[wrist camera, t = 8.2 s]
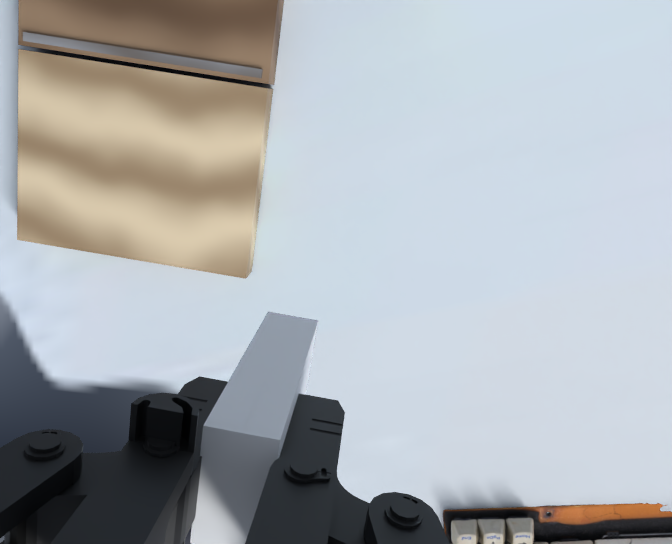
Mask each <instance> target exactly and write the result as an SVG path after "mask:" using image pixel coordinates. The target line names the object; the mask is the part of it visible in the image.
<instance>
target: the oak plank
mask: <svg viewBox="0 0 672 544" xmlns="http://www.w3.org/2000/svg"><path fill="white" fill-rule="evenodd" d="M272 94H273V89H269V88H263V87H256V86H250V85H244V84H237V83H231V82H225V81H218V80H212V79H206V78H199V77H193V76H187V75H180V74H174V73H168V72H161V71H155V70H149V69H142V68H136V67H130V66H123V65H117V64H111V63H104V62H98V61H92V60H85V59H79V58H72V57H66V56H60V55H53V54H47V53H41V52H34V51H28V50H21V49H18V206H17V240H22V241H28V242H34V243H39V244H45V245H51V246H57V247H63V248H69V249H75V250H81V251H87V252H93V253H99V254H104V255H110V256H116V257H122V258H128V259H134V260H140V261H146V262H152V263H158V264H163V265H169V266H175V267H181V268H187V269H193V270H199V271H205V272H211V273H217V274H223V275H228V276H234V277H240V278H247V277H248V275H249V274H250V273H251V272H252V264H253V256H254V247H255V238H256V230H257V221H258V213H259V204H260V196H261V187H262V179H263V170H264V162H265V153H266V145H267V136H268V128H269V119H270V111H271V102H272Z"/></svg>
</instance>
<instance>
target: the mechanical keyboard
mask: <svg viewBox="0 0 672 544" xmlns="http://www.w3.org/2000/svg"><path fill="white" fill-rule="evenodd" d="M662 506H663V505H661V504H659V503H657V504H648V503H646V504H643V503H639V504H609V505H606V504H604V505H570V506H540V507H517V508H513V507H512V508H488V509H484V508H482V509H463V510H444V512H443V517H444V528H445V534H446V536H447V538H448V540H449V543H450V544H672V512H670V511H668V512H666V511H664V512H663V511H662V512H661V511H660V507H662ZM664 506H666V505H664ZM547 512H550V513H549V514H547Z"/></svg>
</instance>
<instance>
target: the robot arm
mask: <svg viewBox="0 0 672 544" xmlns="http://www.w3.org/2000/svg"><path fill="white" fill-rule="evenodd" d="M317 325H318V321H317V320H312V319H306V318H301V317H295V316H290V315H284V314H279V313H273V312H268V313H267V315H266V316H265V318H264V320H263V322H262V323H261V325H260V327H259V329H258V330H257V332H256V334H255V336H254V337H253V339H252V341H251V343H250V344H249V346H248V348H247V350H246V352H245V353H244V355H243V357H242V359H241V360H240V362H239V364H238V366H237V367H236V369H235V371H234V373H233V374H232V376H231V378H230V380H229V381H228V382H226V381H221V380H215V379H210V378H204V377H198V378H196V379H194V380H192V381H190V382H188V383H186V384H185V385H184V386H183V388H182V389H181V390H180V392H179V393H178V394H170V393H157V394H149V395H146V396H144V397H140V398H138V399H137V400H136V401H134V402H133V403H132V404H131V416H130V430H129V441H128V442H127V443H126V445H125V446H124V447H123V449H122V450H121V451H117V452H108V453H83V443H82V442H81V440H80V438H79V437H77V436H76V435H74V434H72V433H70V432H66V431H61V430H53V429H52V430H50V429H48V430H41V431H35V432H31V433H28V434H25V435H23V436H21V437H18V438H16V439H15V440H13V441H11V442H9V443H8V444H6V445H4V446H3V447H1V448H0V538H1V537H2V536H4V535H5V540H4V541H3V542H1V543H0V544H185V538H186V536H187V534H188V532H189V530H190V528H191V525H192V531H191V541H190V543H192V544H450V543H449V540H448V538H447V536H446V534H445V532H444V529H443V527H442V525H441V523H440V521H439V518H438V516H437V515H436V513H435V512H434V511H433V509H432V508H431V507H430V506H429V505H427V504H426V503H425V502H423V501H422V500H420V499H418V498H416V497H413V496H411V495H408V494H403V493H397V492H392V493H383V494H381V495H379V496H377V497H374V498H373V500H372V501H371V503H367V502H365V501H363V500H361V499H359V498H357V497H355V496H353V495H352V494H350V493H349V492H348V491H346V490H345V489H344V488H343V486H342V485H341V484H340V482H339V480H338V478H337V464H338V457H339V450H340V443H341V435H342V429H343V421H344V414H345V412H344V410H343V409H342V407H341V405H340V403H339V402H338V401H337V400H331V399H326V398H321V397H315V396H310V395H306V393H307V387H308V381H309V374H310V368H311V362H312V356H313V350H314V344H315V338H316V331H317Z"/></svg>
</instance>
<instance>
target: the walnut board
mask: <svg viewBox="0 0 672 544" xmlns="http://www.w3.org/2000/svg"><path fill="white" fill-rule="evenodd" d="M283 3H284V0H19V38H18V45H24V46H30V47H36V48H43V49H49V50H56V51H62V52H68V53H75V54H81V55H87V56H94V57H100V58H106V59H113V60H119V61H125V62H132V63H138V64H144V65H151V66H157V67H164V68H170V69H176V70H183V71H189V72H195V73H202V74H208V75H214V76H221V77H227V78H233V79H240V80H246V81H252V82H259V83H265V84H273V85H274V81H275V72H276V64H277V55H278V46H279V38H280V29H281V21H282V12H283Z"/></svg>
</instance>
